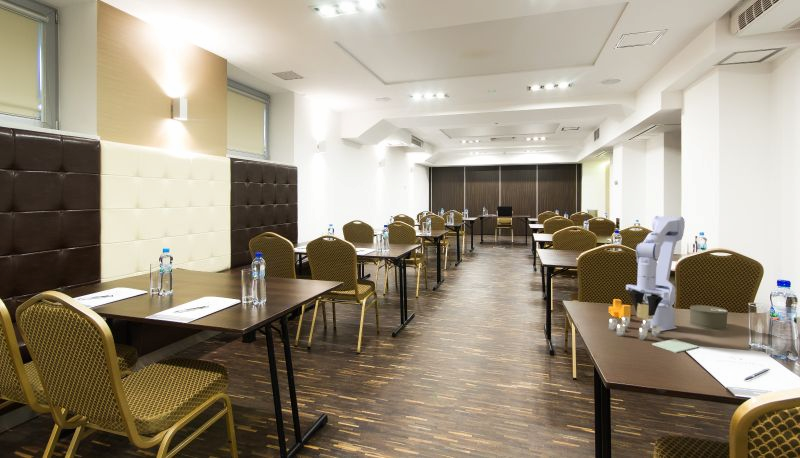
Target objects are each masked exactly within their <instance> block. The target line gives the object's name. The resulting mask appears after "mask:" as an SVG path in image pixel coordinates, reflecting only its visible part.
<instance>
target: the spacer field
mask: <svg viewBox="0 0 800 458" xmlns="http://www.w3.org/2000/svg"><path fill="white" fill-rule="evenodd" d="M641 324H642V325H641V326H640V327H639V328H638V340H640V341H648V333H649V332H651V338H654V339H660V338H661V331H660V330H661V326H659V325H652V328H650V326H651V321H650V320H647V319H643V318H642V323H641ZM626 329H630V321H629V317H627V316H622V320H621V323H618V319H617V318H615V317H613V318H612V317H611V318H609V319H608V330H610V331H616V336H617V337H625V335H626Z"/></svg>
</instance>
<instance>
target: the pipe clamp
mask: <svg viewBox="0 0 800 458" xmlns="http://www.w3.org/2000/svg"><path fill="white" fill-rule="evenodd" d="M631 309H632V308H631V305H629V304H622V300H621V299H617V298H614V299H613V301H612V306H611V305H609V306H608V314H609V313H610V314H611V316H612V317H613V316H614V317H613V318H618V319H620V318H621V319H622V316H627V317H629V322H631ZM610 314H609V315H610ZM621 319H620V320H621Z"/></svg>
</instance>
